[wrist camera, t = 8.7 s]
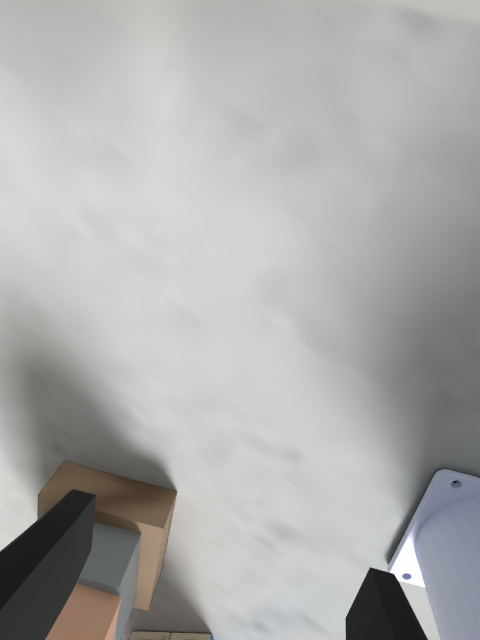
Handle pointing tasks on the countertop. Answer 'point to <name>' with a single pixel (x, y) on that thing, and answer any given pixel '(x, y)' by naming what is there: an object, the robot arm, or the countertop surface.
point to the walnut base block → (122, 515)
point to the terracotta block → (87, 616)
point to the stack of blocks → (168, 636)
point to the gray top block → (113, 568)
